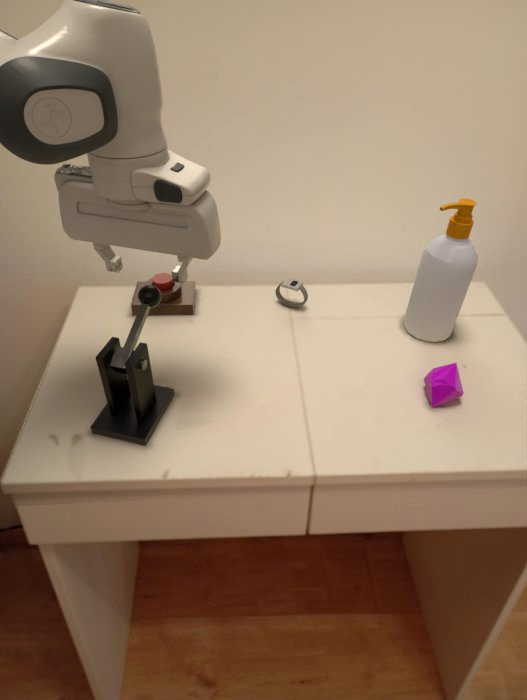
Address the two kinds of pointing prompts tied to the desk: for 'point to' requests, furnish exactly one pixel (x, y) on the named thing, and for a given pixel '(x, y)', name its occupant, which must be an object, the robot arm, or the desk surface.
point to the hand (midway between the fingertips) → (147, 275)
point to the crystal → (443, 384)
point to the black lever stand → (130, 396)
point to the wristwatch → (293, 286)
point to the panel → (169, 299)
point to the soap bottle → (443, 278)
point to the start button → (163, 281)
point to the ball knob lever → (136, 327)
